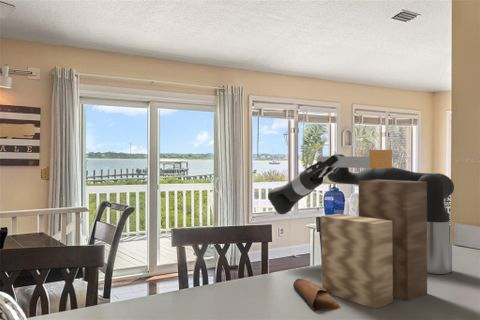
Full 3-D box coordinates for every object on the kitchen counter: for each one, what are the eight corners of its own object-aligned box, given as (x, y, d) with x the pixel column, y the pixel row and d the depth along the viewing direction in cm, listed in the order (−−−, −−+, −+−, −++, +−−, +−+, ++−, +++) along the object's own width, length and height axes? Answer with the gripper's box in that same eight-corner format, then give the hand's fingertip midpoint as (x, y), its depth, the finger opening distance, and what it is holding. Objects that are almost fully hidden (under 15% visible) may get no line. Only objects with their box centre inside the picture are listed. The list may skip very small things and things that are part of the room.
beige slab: (322, 291, 122) (321, 216, 122) (339, 285, 127) (339, 213, 126) (374, 308, 107) (374, 223, 107) (392, 302, 112) (392, 220, 112)
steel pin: (314, 166, 142) (314, 150, 142) (325, 166, 146) (325, 150, 146) (381, 168, 122) (380, 149, 122) (391, 168, 125) (391, 149, 125)
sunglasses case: (344, 308, 107) (331, 287, 107) (322, 324, 107) (309, 302, 106) (319, 287, 125) (308, 268, 125) (300, 300, 124) (289, 281, 124)
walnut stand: (359, 286, 126) (358, 180, 125) (378, 280, 132) (378, 179, 131) (407, 300, 113) (407, 183, 113) (427, 293, 119) (426, 181, 119)
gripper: (289, 172, 147) (321, 147, 134) (316, 171, 155) (349, 147, 143) (296, 191, 144) (330, 167, 132) (324, 189, 152) (358, 166, 140)
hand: (339, 157), depth 137 cm, fingers closed on steel pin, 3 cm apart
